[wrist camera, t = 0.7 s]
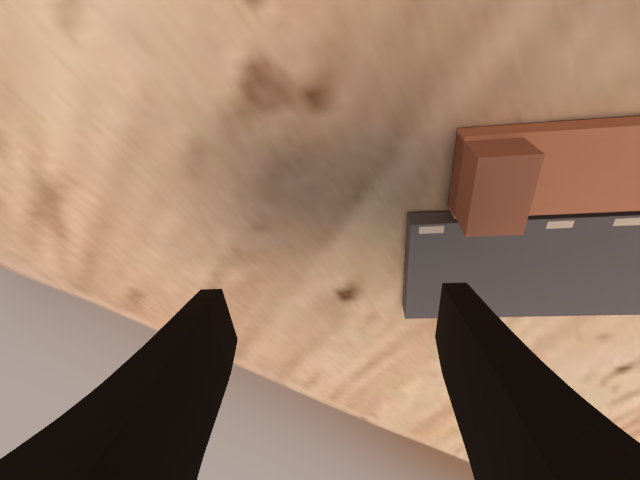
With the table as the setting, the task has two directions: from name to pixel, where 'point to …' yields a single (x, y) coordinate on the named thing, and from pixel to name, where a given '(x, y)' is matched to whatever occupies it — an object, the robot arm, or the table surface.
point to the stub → (543, 172)
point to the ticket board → (527, 265)
